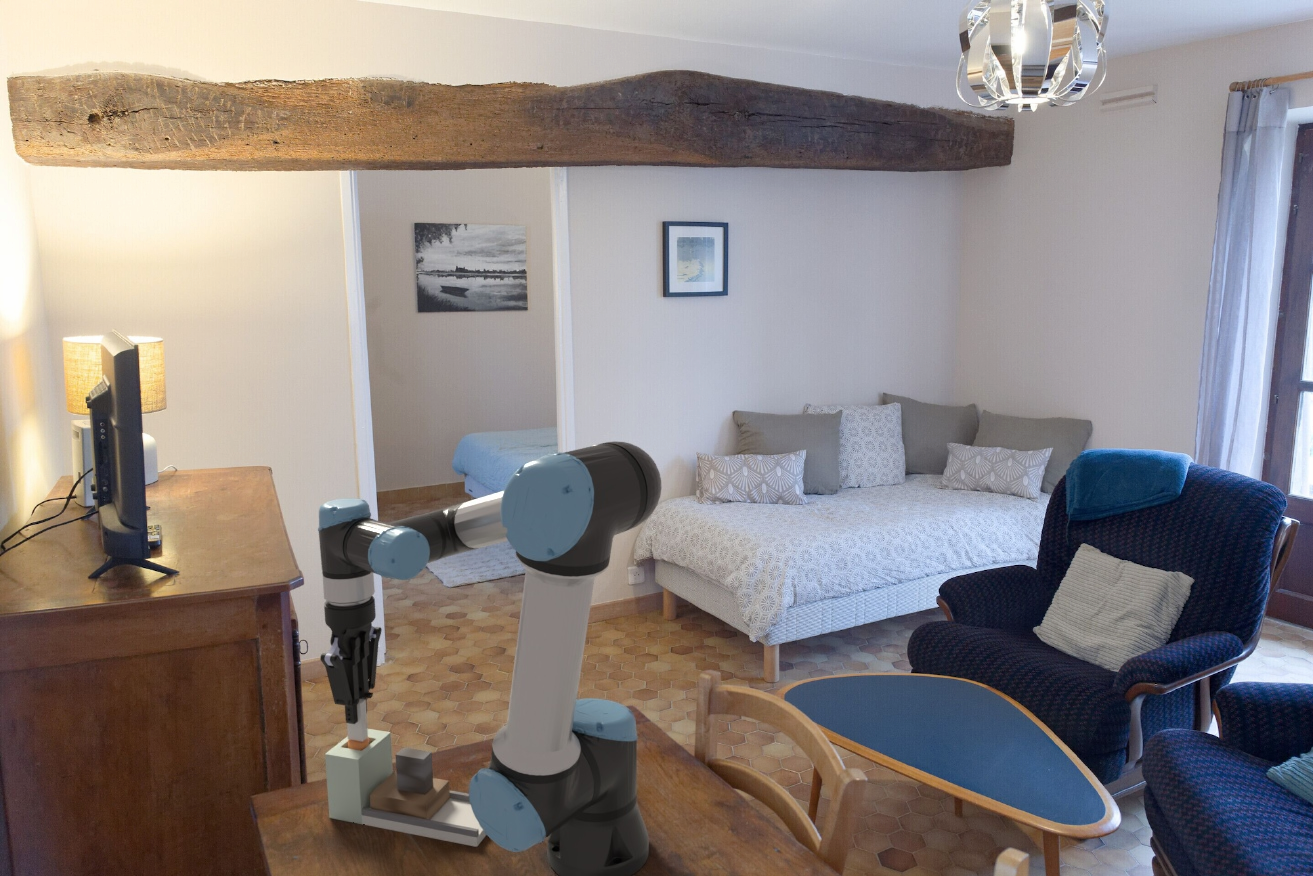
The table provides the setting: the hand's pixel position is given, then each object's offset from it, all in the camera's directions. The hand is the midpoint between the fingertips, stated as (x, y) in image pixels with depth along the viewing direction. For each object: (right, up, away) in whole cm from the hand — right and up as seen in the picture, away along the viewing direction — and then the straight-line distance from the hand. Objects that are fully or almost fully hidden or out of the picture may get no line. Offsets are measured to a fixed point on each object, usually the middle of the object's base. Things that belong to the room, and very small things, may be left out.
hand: (357, 738), depth 148 cm
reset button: (0, -3, 0) cm, 3 cm away
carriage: (+9, -10, -1) cm, 14 cm away
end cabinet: (0, -12, +2) cm, 12 cm away
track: (+13, -12, -2) cm, 18 cm away
